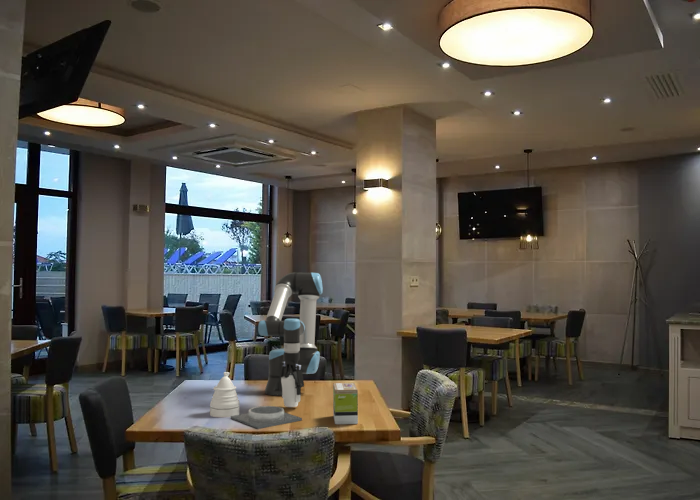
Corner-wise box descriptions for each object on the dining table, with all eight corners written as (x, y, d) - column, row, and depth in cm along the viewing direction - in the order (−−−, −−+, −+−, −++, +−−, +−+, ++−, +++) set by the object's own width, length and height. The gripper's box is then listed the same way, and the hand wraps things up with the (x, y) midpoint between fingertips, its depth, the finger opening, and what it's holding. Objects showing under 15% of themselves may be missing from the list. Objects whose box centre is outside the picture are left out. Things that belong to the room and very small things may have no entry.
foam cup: (297, 408, 261) (297, 379, 261) (278, 407, 263) (278, 379, 263) (303, 403, 270) (303, 376, 271) (284, 402, 272) (285, 375, 272)
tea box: (332, 416, 253) (332, 382, 254) (355, 415, 254) (355, 382, 254) (334, 424, 238) (334, 389, 239) (358, 424, 239) (358, 388, 239)
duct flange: (273, 410, 261) (273, 402, 261) (301, 420, 244) (302, 410, 244) (230, 418, 246) (230, 409, 246) (257, 428, 230) (258, 418, 230)
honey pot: (214, 410, 261) (215, 370, 262) (242, 410, 261) (242, 371, 261) (206, 417, 248) (207, 375, 249) (235, 417, 248) (236, 376, 249)
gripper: (271, 349, 273) (271, 396, 272) (299, 355, 256) (298, 405, 256) (284, 348, 278) (284, 394, 277) (312, 353, 261) (311, 402, 261)
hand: (291, 399), depth 266 cm, fingers closed on foam cup, 9 cm apart
